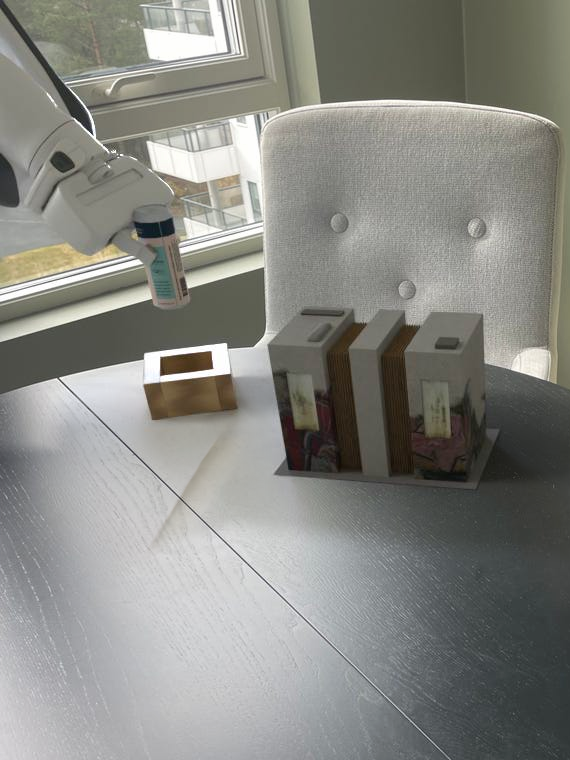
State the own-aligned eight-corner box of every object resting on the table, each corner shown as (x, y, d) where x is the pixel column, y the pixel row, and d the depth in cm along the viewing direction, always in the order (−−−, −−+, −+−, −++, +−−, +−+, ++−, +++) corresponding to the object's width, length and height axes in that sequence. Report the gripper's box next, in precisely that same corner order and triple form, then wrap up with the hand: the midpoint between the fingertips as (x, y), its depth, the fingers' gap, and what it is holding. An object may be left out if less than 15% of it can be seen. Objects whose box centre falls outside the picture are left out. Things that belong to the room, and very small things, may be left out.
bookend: (475, 489, 113) (470, 354, 103) (272, 474, 117) (249, 343, 107) (500, 429, 125) (497, 303, 115) (315, 417, 129) (297, 295, 119)
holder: (151, 419, 130) (142, 384, 127) (152, 386, 139) (144, 352, 136) (237, 408, 132) (230, 373, 129) (233, 376, 141) (226, 343, 138)
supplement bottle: (185, 296, 130) (164, 201, 122) (196, 306, 126) (175, 209, 119) (149, 303, 128) (126, 207, 120) (159, 314, 124) (136, 215, 117)
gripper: (106, 167, 128) (190, 246, 132) (15, 209, 113) (113, 297, 117) (128, 130, 125) (213, 213, 129) (37, 168, 109) (137, 261, 113)
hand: (165, 253), depth 123 cm, fingers closed on supplement bottle, 5 cm apart
